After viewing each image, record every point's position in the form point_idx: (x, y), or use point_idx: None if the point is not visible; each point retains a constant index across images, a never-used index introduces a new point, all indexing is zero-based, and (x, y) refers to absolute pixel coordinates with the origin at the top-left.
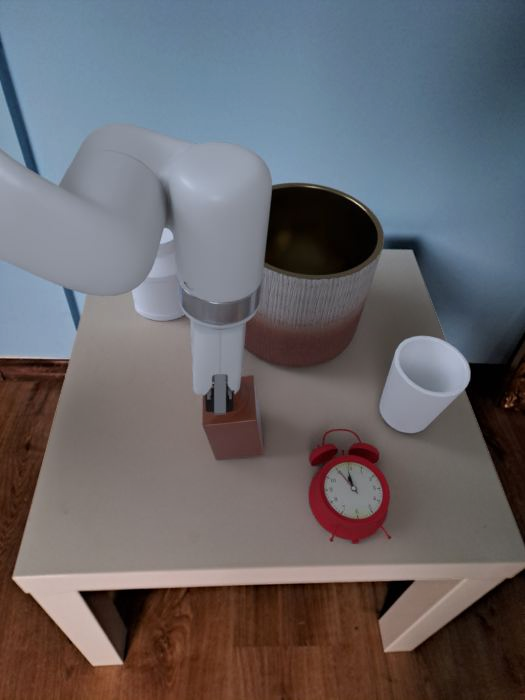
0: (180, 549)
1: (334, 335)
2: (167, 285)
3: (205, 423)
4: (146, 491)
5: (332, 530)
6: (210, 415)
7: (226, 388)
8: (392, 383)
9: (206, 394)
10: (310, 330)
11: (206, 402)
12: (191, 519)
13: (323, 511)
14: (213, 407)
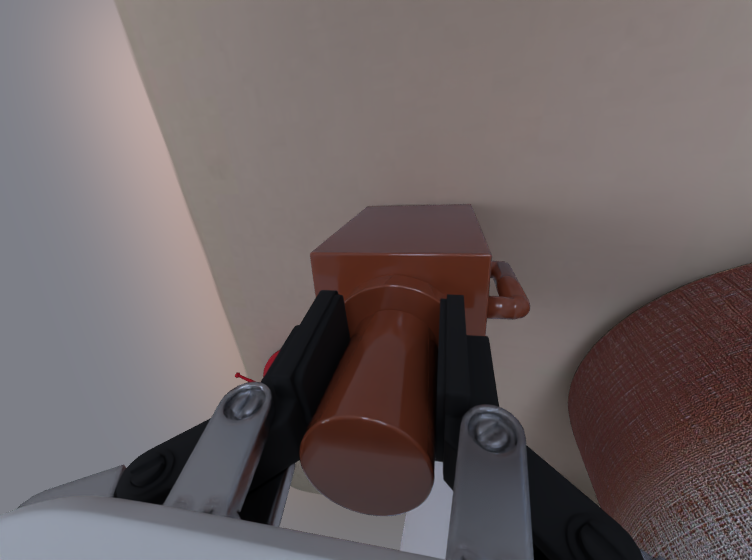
0: (191, 144)
1: None
2: None
3: (316, 263)
4: (280, 44)
5: (267, 366)
6: (345, 277)
7: (278, 472)
8: (445, 556)
9: (274, 376)
10: (624, 525)
11: (299, 330)
12: (245, 161)
13: None
14: (284, 349)
